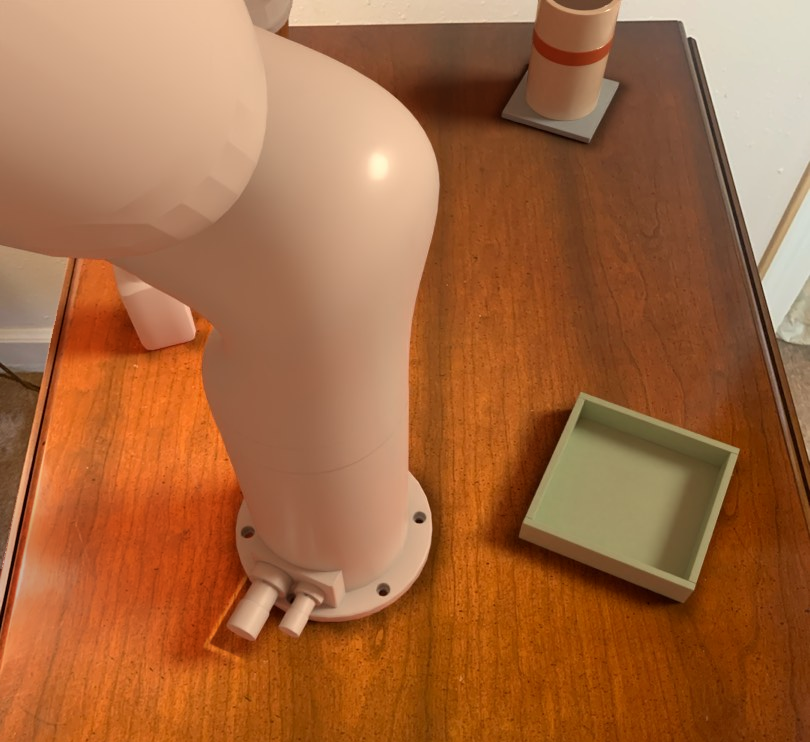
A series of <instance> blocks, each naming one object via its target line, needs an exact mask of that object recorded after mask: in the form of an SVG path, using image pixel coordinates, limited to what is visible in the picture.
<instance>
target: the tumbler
mask: <svg viewBox="0 0 810 742" xmlns="http://www.w3.org/2000/svg"><path fill="white" fill-rule="evenodd" d="M621 4H622V0H537V6H536V12H535V19H534V23H533V29H532V38H531V48H530V53H529V54H530V55H529V63H528V69H527V70H528V75H527V82H526V89H525V98H526V101H527V103H528V105H529V106H530V108H531V109H532V110H534V111H535V112H536V113H538V114H539V115H541V116H543V117H546V118H549V119H553V120H558V121H570V120H576V119H580V118H583V117H585V116H587V115H588V114H590V113H591V112H592V111H593V110H594V109H595V107H596V106H597V104H598V100H599V96H600V91H601V87H602V83H603V78H605V74H606V73H605V72H606V69H607V66H608V61H609V57H610V52H611V49H612V46H613V42H614V39H615V38H614V37H615V33H616V26H617V21H618V18H619V13H620V9H621V6H622V5H621Z"/></svg>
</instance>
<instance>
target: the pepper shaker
mask: <svg viewBox="0 0 810 742" xmlns="http://www.w3.org/2000/svg"><path fill="white" fill-rule="evenodd" d="M112 270H113V275H114V279H115V284H116V288H117V291H118V294H119V297H120V299H121V301H122V304H123V305H124V308H125V310H126V312H127V314H128V317H129V319H130V321H131V323H132V325H133V328H134V331H135V333H136V335H137V337H138V339H139V341H140V343H141V345H142V346H143V348H145V349H146V350H147V351H155V350H159V349H163V348H167V347H171V346H176V345H179V344H183V343H187V342H191V341H192V340H194V339H195V338H196V334H197V333H196V332H197V329H196V326H195V322H194V318H193V314H192V311H191V310H192V309H191V308H190V307H188V306H186V305H185V304H183V303H181V302H180V301H178V300H176V299H174V298H173V297H171V296H169V295H167V294H165V293H163V292H161V291H159V290H157V289H156V288H154V287H152V286H150V285H148V284H146V283H145V282H143V281H141V280H140V279H139V278H138V277H136V276H134V275H132V274H131V273H129V272H127V271H125V270H123V269H121V268H119V267H117V266H115V265H113V264H112Z"/></svg>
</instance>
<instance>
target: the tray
mask: <svg viewBox="0 0 810 742" xmlns="http://www.w3.org/2000/svg"><path fill="white" fill-rule="evenodd" d="M740 451H741V449H740V448H738V447H736V446H733V445H731V444H727V443H725V442H722V441H719V440H716V439H713V438H711V437H708V436H705V435H702V434H699V433H697V432H695V431H691V430H689V429H686V428H682V427H680V426H678V425H675V424H672V423H670V422H666V421H663V420H661V419H658V418H655V417H652V416H649V415H647V414H644V413H642V412H641V413H640V412H638V411H637V410H633V409H631V408H627V407H624V406H622V405H619V404H616V403H613V402H612V401H611V402H610V401H608V400H605V399H602V398H599V397H597V396H593V395H591V394H588V393H585V392H584V391H583V392H582V391H580V392H579V394H578V396H577V397H576V401H575V403H574V405H573V407H572V410H571V412H570V414H569V416H568V419H567V421H566V423H565V425H564V428H563V430H562V433H561V435H560V437H559V439H558V441H557V444H556V446H555V448H554V451H553V453H552V454H551V457H550V459H549V462H548V464H547V466H546V469H545V471H544V473H543V475H542V477H541V480H540V482H539V485H538V487H537V489H536V491H535V493H534V496H533V498H532V500H531V502H530V505H529V507H528V509H527V512H526V514H525V516H524V518H523V521H522V523H521V527H520V530H519V532H518V533H519V534H518V538H519V539H521V540H524V541H526V542H529V543H532V544H534V545H536V546H539V547H541V548H544V549H546V550H549V551H551V552H554V553H557V554H559V555H562V556H564V557H567V558H569V559H572V560H574V561H577V562H579V563H581V564H584V565H587V566H589V567H592V568H594V569H597V570H599V571H601V572H604V573H607V574H609V575H612V576H614V577H617V578H619V579H622V580H625V581H627V582H629V583H632V584H634V585H636V586H639V587H642V588H644V589H646V590H650V591H652V592H654V593H656V594H659V595H662V596H664V597H667V598H668V599H671V600H673V601H677V602H679V603H681V604H682V603H683V604H684V603H685V602H686V601H687V599H688V598H690V596H691V595H692V593H693V592H695V591H694V590H695V589H696V586H697V582H698V579H699V576H700V573H701V570H702V566H703V563H704V560H705V558H706V554H707V553H708V548H709V545H710V543H711V539H712V536H713V534H714V533H713V532H714V529H715V527H716V524H717V520H718V517H719V515H720V511H721V509H722V506H723V502H724V499H725V496H726V493H727V490H728V487H729V484H730V480H731V478H732V475H733V472H734V468H735V466H736V463H737V459H738V456H739V453H740Z"/></svg>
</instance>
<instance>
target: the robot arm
mask: <svg viewBox="0 0 810 742" xmlns="http://www.w3.org/2000/svg"><path fill="white" fill-rule="evenodd" d="M439 171H440V170H439V165H438V161H437V157H436V153H435V151H434V148H433V145H432V143H431V141H430V138H429V137H428V135H427V133H426V131H425V130H424V128H423V127H422V125H421V124H420V122H419V121H418V120H417V118H416V117H415V116H414V114H413V113H412V112H411V111H410V110H409V109H408V108H407V107H406V106H405V105H404V104H403V103H402V102H401V101H400V100H399V99H398V98H396V97H395V96H394V95H393V94H392V93H390V92H389V91H388V90H387V89H386V88H384V87H383V86H382V85H380V84H378V83H377V82H376V81H374V80H372V79H371V78H369V77H367V76H366V75H364V74H363V73H361V72H359V71H358V70H355V69H354V68H352V67H351V66H349V65H347V64H344V63H343V62H341V61H338V60H337V59H335V58H332V57H331V56H328V55H327V54H324V53H323V52H320V51H318V50H315V49H313V48H310V47H308V46H306V45H304V44H301V43H299V42H296V41H293V40H291V39H289V40H288V39H286V38H284V37H281V36H279V35H276V34H274V33H272V32H269V31H267V30H265V29H262V28H260V27H257V26H255V25H253V23H252V20H251V17H250V15H249V12H248V10H247V7H246V5H245V2H244V0H0V246H3V247H6V248H12V249H17V250H21V251H25V252H29V253H35V254H39V255H44V256H47V257H53V258H69V259H81V260H97V261H102V260H103V261H106V262H107V263H109V264H112V266H113V265H115V266H117V267H119V268H121V269H123V270H125V271H127V272H129V273H131V274H132V275H134V276H136V277H138V278H139V279H140V280H141V281H143V282H145V283H146V284H148V285H150V286H152V287H154V288H156V289H157V290H159V291H161V292H163V293H165V294H167V295H169V296H171V297H173V298H174V299H176V300H178V301H180V302H181V303H183V304H185V305H186V306H188V307H190V310H192V311H194V312H195V313H197V314H198V315H200V317H202V318H203V319H204V320H205V321H206V322H208V323H209V324H210V325H211V326H212V329H211V331H210V333H209V335H208V337H207V340H206V343H205V345H204V348H203V352H202V359H201V380H202V386H203V390H204V394H205V397H206V402H207V403H208V407H209V409H210V412H211V415H212V418H213V421H214V423H215V426H216V427H217V429H218V431H219V434H220V436H221V439H222V442H223V445H224V447H225V451H226V453H227V456H228V458H229V462H230V464H231V466H232V469H233V472H234V475H235V477H236V481H237V483H238V485H239V488H240V491H241V493H242V495H243V496H242V497H243V499H242V502H241V505H240V507H239V509H238V512H237V518H236V523H235V543H236V549H237V553H238V556H239V557H238V558H239V560H240V563H241V566H242V568H243V570H244V571H245V574H246V576H247V578H248V580H249V581H250V583H251V585H250V586H249V588H248V590H247V592H246V593H245V595H244V596H243V598H241V599H240V600H239V602H238V603H237V605H236V607H235V609H234V610H233V612H232V614H231V616H230V617H229V619H228V621H227V623H225V626H226V628H227V629H228V630H229V631H231V632H232V633H234V634H235V635H237V637H240V638H242V639H244V640H247V641H250V642H256V640H257V638H258V636H259V634H260V633H261V631H262V629H263V627H264V626H265V624H266V622H267V620H268V618H269V617H270V612H271V610H272V608H273V606H275V607H277V608H278V609H280V610H281V611H283V612H285V614H284V616H283V617H282V619H281V621H280V623H279V625H278V627H277V628H278V629H279V631H281V632H282V633H283V634H285V635H287V636H289V637H291V638H295V639H299V638H300V636H301V634H302V632H303V630H304V628H305V626H306V625H307V623H308V621H309V620H310V621H313V622H319V623H343V622H348V621H353V620H359V619H362V618H365V617H368V616H370V615H373V614H375V613H378V612H380V611H381V610H384V609H386V608H387V607H388V606H390V605H392V604H394V603H395V602H396V601H397V600H398V599H400V598H401V597H402V596H403V595H404V594H405V593H407V591H409V590H410V588H411V587H412V586H413V584H414V583H415V582H416V580H417V579H418V578H419V577H420V575H421V573H422V571H423V569H424V567H425V565H426V563H427V561H428V557H429V554H430V549H431V546H432V536H433V521H432V511H431V508H430V504H429V501H428V498H427V495H426V494H425V492H424V489H423V488H422V486H421V484H420V482H419V481H418V480H417V479H416V477H415V476H414V475H413V474H412V473H411V472H410V470H409V464H410V463H409V455H410V453H409V452H410V449H409V447H410V445H409V443H410V442H409V441H410V439H409V437H410V436H409V435H410V432H409V431H410V384H409V383H410V347H411V346H410V345H411V334H412V325H413V317H414V312H415V307H416V301H417V297H418V294H419V289H420V285H421V280H422V277H423V273H424V270H425V267H426V266H425V265H426V262H427V259H428V254H429V250H430V246H431V243H432V240H433V236H434V231H435V226H436V222H437V215H438V211H439V210H438V209H439V199H440V198H439V197H440V188H441V187H440V186H441V185H440V172H439ZM417 521H421V522H422V523H421V522H420V523H419V522H418V523H417ZM249 536H251V537H249ZM382 592H385V593H386V595H380V593H382Z"/></svg>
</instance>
